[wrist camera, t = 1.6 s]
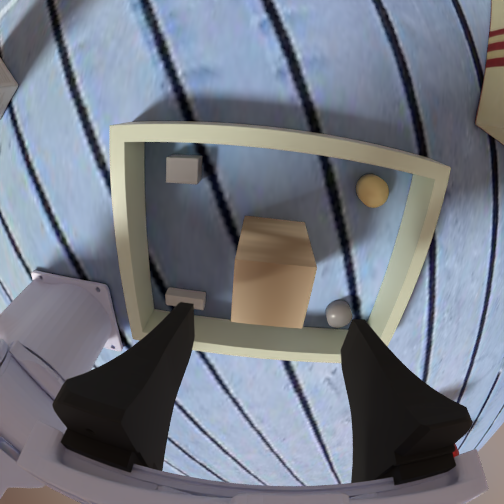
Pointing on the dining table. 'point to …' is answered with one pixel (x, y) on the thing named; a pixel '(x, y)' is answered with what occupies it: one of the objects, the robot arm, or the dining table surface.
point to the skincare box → (6, 87)
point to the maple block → (272, 273)
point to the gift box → (493, 78)
